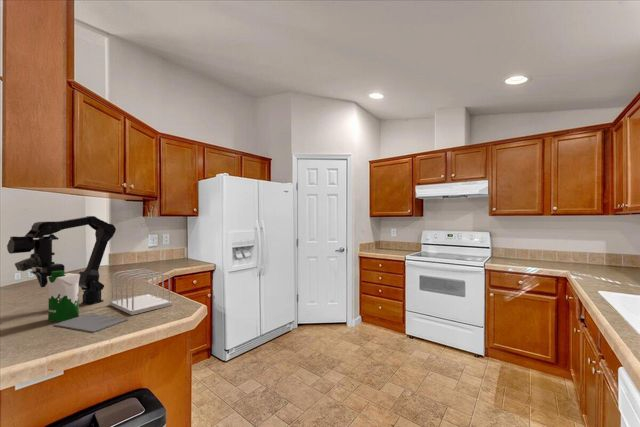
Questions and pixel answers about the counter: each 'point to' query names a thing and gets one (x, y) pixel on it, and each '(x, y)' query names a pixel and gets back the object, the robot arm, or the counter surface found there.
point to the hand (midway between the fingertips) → (42, 287)
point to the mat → (91, 322)
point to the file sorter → (139, 302)
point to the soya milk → (63, 296)
